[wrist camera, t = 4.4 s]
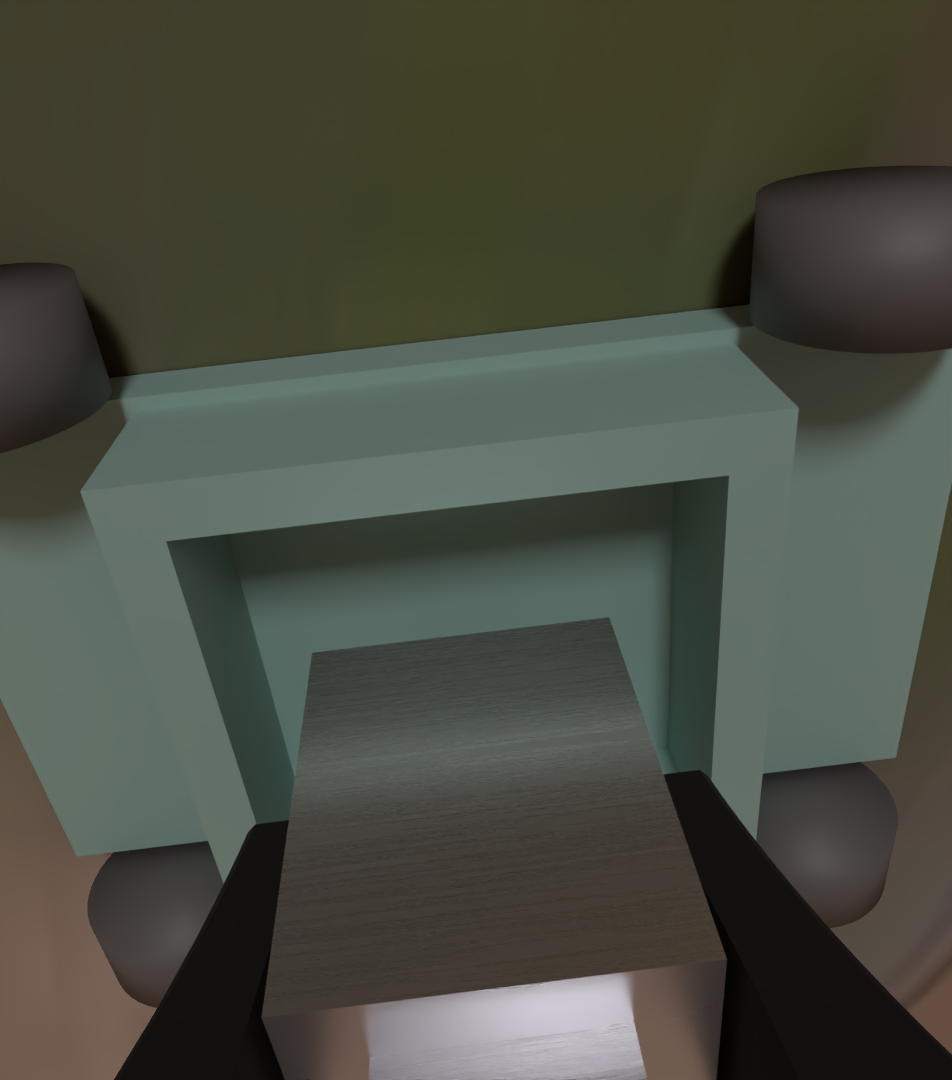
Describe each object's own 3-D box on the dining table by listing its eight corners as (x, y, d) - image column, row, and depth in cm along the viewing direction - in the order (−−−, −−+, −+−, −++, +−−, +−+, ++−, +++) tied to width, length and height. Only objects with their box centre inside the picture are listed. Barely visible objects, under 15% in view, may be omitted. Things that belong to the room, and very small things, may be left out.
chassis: (974, 154, 13) (1154, 196, 10) (861, 785, 19) (946, 929, 16) (-151, 281, 12) (-328, 365, 9) (119, 875, 19) (64, 1037, 16)
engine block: (609, 617, 12) (751, 1029, 7) (612, 822, 14) (724, 1248, 9) (311, 653, 12) (251, 1090, 7) (360, 853, 14) (339, 1298, 9)
